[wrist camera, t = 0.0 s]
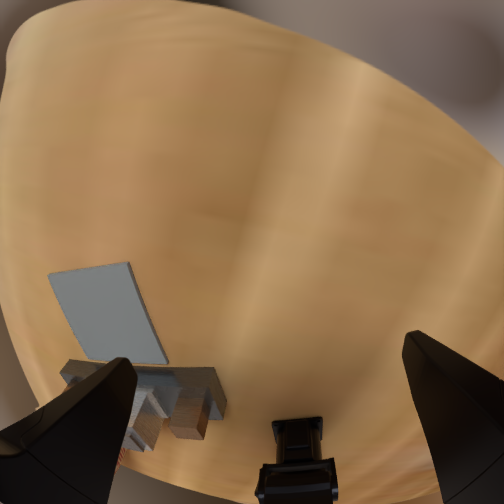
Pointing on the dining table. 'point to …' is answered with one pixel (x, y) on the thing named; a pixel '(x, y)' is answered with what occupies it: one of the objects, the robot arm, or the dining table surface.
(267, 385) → the dining table surface
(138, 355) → the rubber mat
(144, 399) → the grey metal block
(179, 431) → the hand plane
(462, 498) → the robot arm
